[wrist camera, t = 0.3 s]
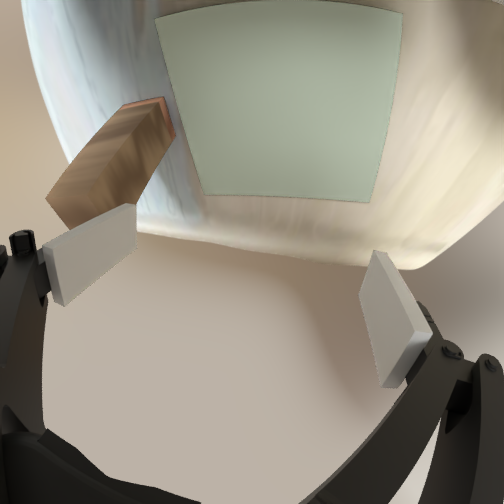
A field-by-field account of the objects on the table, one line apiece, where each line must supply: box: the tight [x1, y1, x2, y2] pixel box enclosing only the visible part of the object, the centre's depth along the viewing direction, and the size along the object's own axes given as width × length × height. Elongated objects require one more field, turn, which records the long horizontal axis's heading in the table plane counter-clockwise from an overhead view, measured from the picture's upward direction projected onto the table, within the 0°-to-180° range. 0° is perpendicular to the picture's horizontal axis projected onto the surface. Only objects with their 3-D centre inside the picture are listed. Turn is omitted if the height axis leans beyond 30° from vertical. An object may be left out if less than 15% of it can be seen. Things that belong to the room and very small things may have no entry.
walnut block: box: [45, 97, 176, 230], centre depth 22 cm, size 5×5×14 cm
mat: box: [154, 0, 403, 203], centre depth 23 cm, size 22×20×1 cm
